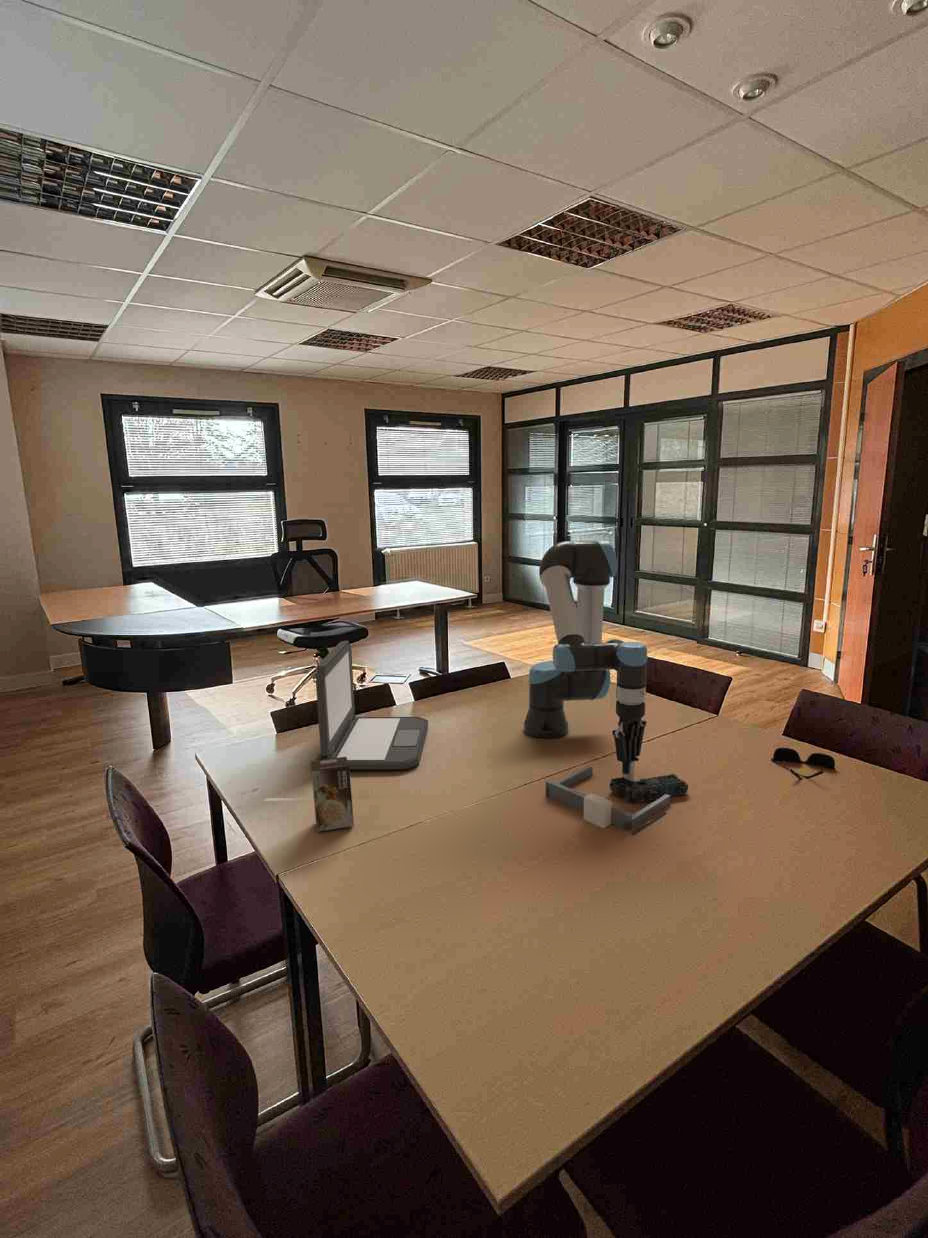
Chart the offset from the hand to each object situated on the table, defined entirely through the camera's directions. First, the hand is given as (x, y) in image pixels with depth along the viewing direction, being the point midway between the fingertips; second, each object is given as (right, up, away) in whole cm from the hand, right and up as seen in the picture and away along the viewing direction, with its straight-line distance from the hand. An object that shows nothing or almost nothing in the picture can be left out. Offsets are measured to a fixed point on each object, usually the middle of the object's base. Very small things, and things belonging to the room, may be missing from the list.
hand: (627, 783), depth 171 cm
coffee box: (-77, -6, -15) cm, 79 cm away
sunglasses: (+51, 0, +6) cm, 52 cm away
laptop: (-73, +3, +32) cm, 80 cm away
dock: (-8, -3, -8) cm, 11 cm away
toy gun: (+3, +1, +1) cm, 3 cm away
